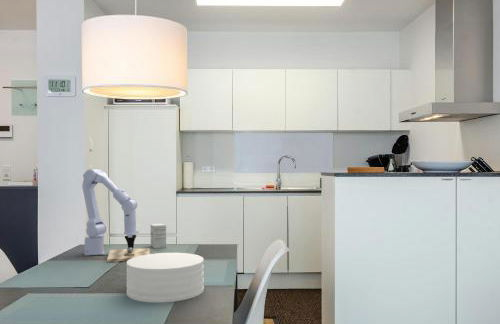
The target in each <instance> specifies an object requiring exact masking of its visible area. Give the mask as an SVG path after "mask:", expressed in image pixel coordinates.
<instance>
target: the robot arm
mask: <svg viewBox="0 0 500 324" xmlns="http://www.w3.org/2000/svg"><path fill="white" fill-rule="evenodd" d="M82 177H83V180H82V186H81V187H82V191H83V196H84V202H85V207H86V211H87V216H88V220H87V221H86V229H85V231H86V235H87V237H86V236H85V238H84V249H83V250H84V256H95V255H96V256H98V255H105V253H106V251H105V248H104V242H105V239H104V237H105V236H104V235H105V233H106V232H107V227H106V226H107V225H105V224H106V223H104V219H102V217H100V212H99V206H98V202H97V197H96V192H95V187H96V186H97V184H99V183H100V184H102V185H103V186H104V187H106V188H107V190H109V191H110V193H112V197H113V198H114V199H115V201H116V202H118V203H119V205H121V209H122V210H123V220H124V221H123V222H124V223H123V224H124V233H123V234H124V235H125V236H124V238H125V242H126V243H127V248H128V247H132V248H133V249H134V246H135V240H136V237H137V234H138V233H139V230H137V221H136V220H137V217H136V216H137V215H136V209H137V208H138V202H137V201H136V199H134V198H132V197H131V196H130V195H128V194H127V193H126V190H125V189H122V188H118V187H117V185H116V184H114V182H113V181H112V180H111V178H109V177H108V174H107V173H106V172H105V171H104V170H103V169H100V168H97V169H94V168H93V169H87V170H85V172H84V173H83V175H82Z"/></svg>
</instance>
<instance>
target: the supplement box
mask: <svg viewBox="0 0 500 324" xmlns="http://www.w3.org/2000/svg"><path fill="white" fill-rule="evenodd" d="M150 247H152V248H153V249H161V248H163V249H164V248H167V225H166V224H164V223H150Z"/></svg>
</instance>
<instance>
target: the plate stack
mask: <svg viewBox="0 0 500 324" xmlns="http://www.w3.org/2000/svg"><path fill="white" fill-rule="evenodd" d="M204 261H205V260H204V257H203V256H201V255H199V254H194V253H187V252H161V253H160V252H158V253H157V252H155V253H150V254H148V255H142V256H138V257H134V258H131V259H129V260H128V261H126V296H127V297H128V298H129V299H132V300H135V301H138V302H144V303H168V302H169V303H170V302H171V303H173V302H180V301H185V300H189V299H192V298H195V297H197V296H200V295H201V294H202V293H204V290H205V285H204V284H205V279H204V277H205V272H204V270H205V269H204V268H205V266H204V264H205V262H204Z"/></svg>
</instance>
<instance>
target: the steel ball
mask: <svg viewBox="0 0 500 324" xmlns="http://www.w3.org/2000/svg"><path fill="white" fill-rule="evenodd" d="M126 249H127V252H128V253H132V252H133V249H134V247H133V248H132V247H128V246H127V248H126Z"/></svg>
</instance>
